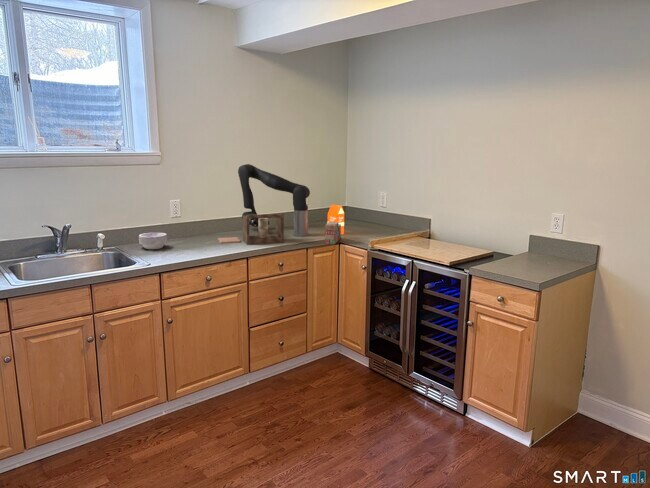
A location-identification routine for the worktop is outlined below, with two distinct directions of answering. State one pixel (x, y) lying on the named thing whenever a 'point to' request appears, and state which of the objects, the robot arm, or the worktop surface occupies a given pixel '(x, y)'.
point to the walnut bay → (271, 238)
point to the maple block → (263, 227)
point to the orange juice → (336, 216)
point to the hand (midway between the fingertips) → (260, 224)
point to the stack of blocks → (332, 232)
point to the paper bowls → (153, 240)
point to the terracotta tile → (229, 240)
